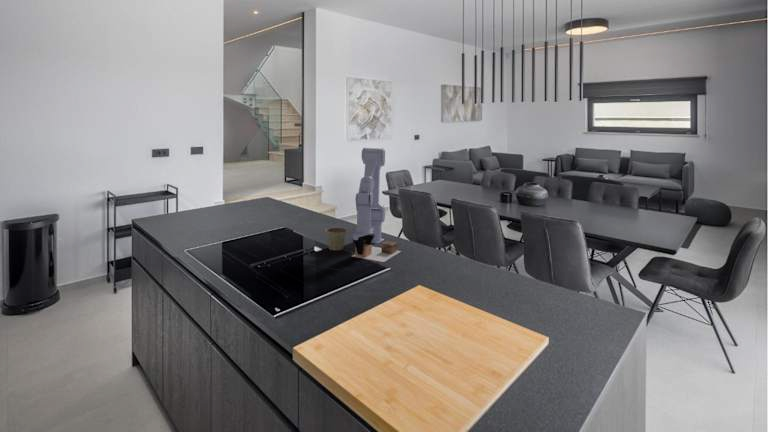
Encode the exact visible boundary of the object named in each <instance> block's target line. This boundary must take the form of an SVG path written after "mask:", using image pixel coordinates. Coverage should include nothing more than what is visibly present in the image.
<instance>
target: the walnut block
mask: <svg viewBox="0 0 768 432" xmlns="http://www.w3.org/2000/svg"><path fill="white" fill-rule="evenodd" d="M381 248H382V253H387V254H393V253H395V252H397V251H398V242H397V241H390V240H386V241H384V242H382V243H381Z"/></svg>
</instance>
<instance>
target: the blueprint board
mask: <svg viewBox="0 0 768 432" xmlns="http://www.w3.org/2000/svg"><path fill="white" fill-rule="evenodd" d="M401 252H402V251H401V250H397V252H395V253H393V254H387V253H382V247H379V246H378V247H377V246H373V245H372V252H371V255H369V256H368V257H360V256H355V254H353V255H352V258H353V257H354V258H359V259H364V260H370V261H375V262H381V263H384V262H386V261H388V260H389V259H391V258H393V257H394V256H396V255H398V254H399V253H401Z"/></svg>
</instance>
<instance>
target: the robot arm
mask: <svg viewBox="0 0 768 432" xmlns="http://www.w3.org/2000/svg"><path fill="white" fill-rule="evenodd" d="M361 161H362V163H363V164H364V172H363V173H364V174H363V175H364V176H363V177H361V179H360V181H359V182H360V183H359V189H358V193H356V194H355V210H356V231H355V233H354V234H353V235H352V241H353V244H354V245H355V246H356V249H357V253H358V254H359V255H363V251H364V244H367V245H372V244H380V243H381V242H383V241H385V238H382V223H384V222H385V220H386V210H385V209H386V208H385V205H384V204H382V203H381V202H380V182H381V179H380V173H381V172H380V171H381V168H383V167H384V166H385V164H386V150H385V149H384V148H376V147H375V148H372V147H368V148H367V147H363V148H362V150H361ZM355 246H354V247H355Z"/></svg>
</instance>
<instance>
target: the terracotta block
mask: <svg viewBox="0 0 768 432" xmlns="http://www.w3.org/2000/svg"><path fill="white" fill-rule="evenodd" d="M372 246H373V245H372V244H371V245H367V244H364V251H363V255H359V254H358V253H357V249H356V246H354V249H355V250H354V252H355V253H354V255H355V256H360V257H368V256H369V255H371V252H372Z"/></svg>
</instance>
